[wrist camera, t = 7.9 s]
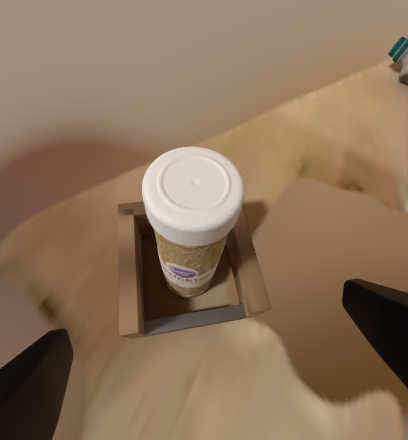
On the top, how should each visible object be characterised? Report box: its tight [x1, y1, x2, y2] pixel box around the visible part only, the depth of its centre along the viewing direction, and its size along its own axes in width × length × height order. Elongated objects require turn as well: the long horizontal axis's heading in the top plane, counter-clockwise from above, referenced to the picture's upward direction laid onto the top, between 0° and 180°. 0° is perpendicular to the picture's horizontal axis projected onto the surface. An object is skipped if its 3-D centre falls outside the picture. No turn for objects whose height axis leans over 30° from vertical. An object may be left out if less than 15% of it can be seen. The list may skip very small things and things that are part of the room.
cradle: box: [118, 202, 271, 339], centre depth 21 cm, size 10×10×4 cm
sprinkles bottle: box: [142, 147, 245, 297], centre depth 16 cm, size 5×5×13 cm
